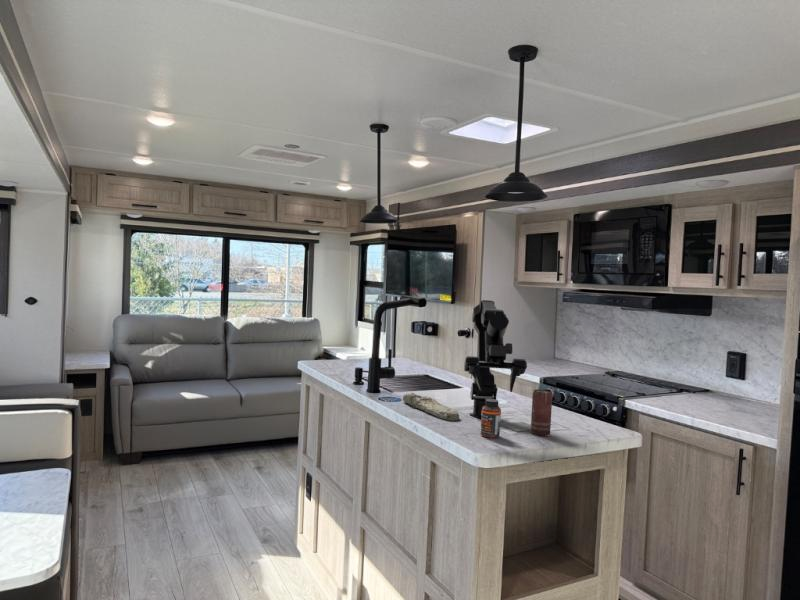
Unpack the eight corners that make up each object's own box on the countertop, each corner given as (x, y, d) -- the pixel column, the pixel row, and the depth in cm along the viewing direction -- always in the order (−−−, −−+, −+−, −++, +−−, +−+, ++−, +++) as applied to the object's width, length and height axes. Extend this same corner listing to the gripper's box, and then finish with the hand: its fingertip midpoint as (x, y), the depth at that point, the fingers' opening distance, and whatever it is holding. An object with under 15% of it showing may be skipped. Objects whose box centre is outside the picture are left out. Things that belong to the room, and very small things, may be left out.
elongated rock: (441, 426, 194) (465, 426, 199) (443, 411, 194) (467, 411, 198) (395, 400, 225) (417, 400, 229) (397, 387, 225) (418, 387, 229)
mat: (499, 424, 193) (499, 423, 193) (522, 422, 198) (523, 421, 198) (517, 432, 184) (517, 431, 184) (542, 430, 189) (542, 428, 189)
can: (537, 437, 180) (539, 392, 179) (527, 431, 186) (529, 388, 185) (554, 436, 181) (556, 392, 181) (543, 431, 187) (546, 388, 187)
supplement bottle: (476, 436, 177) (478, 399, 177) (485, 432, 182) (487, 397, 182) (494, 439, 174) (496, 402, 174) (502, 436, 179) (504, 400, 179)
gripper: (467, 331, 175) (468, 378, 167) (528, 334, 174) (532, 381, 166) (463, 347, 184) (464, 393, 176) (522, 350, 184) (524, 396, 176)
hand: (496, 390), depth 173 cm, fingers open, 9 cm apart
